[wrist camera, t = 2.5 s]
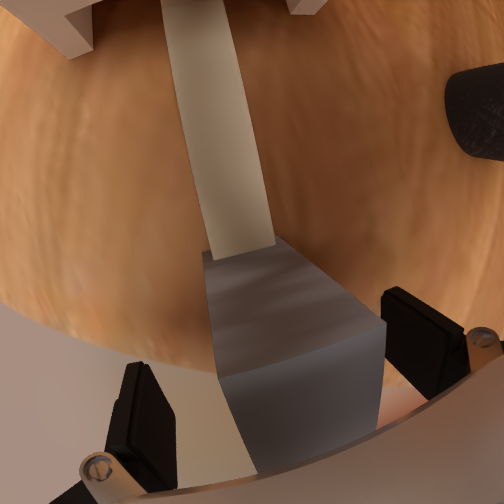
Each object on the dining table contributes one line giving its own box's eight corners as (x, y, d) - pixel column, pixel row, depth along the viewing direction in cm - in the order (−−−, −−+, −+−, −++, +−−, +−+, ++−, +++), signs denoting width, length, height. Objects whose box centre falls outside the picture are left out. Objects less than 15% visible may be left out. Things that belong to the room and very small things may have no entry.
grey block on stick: (217, -27, 11) (247, -145, 1) (292, 328, 17) (371, 452, 8) (149, -15, 10) (131, -134, 1) (228, 345, 17) (266, 490, 7)
